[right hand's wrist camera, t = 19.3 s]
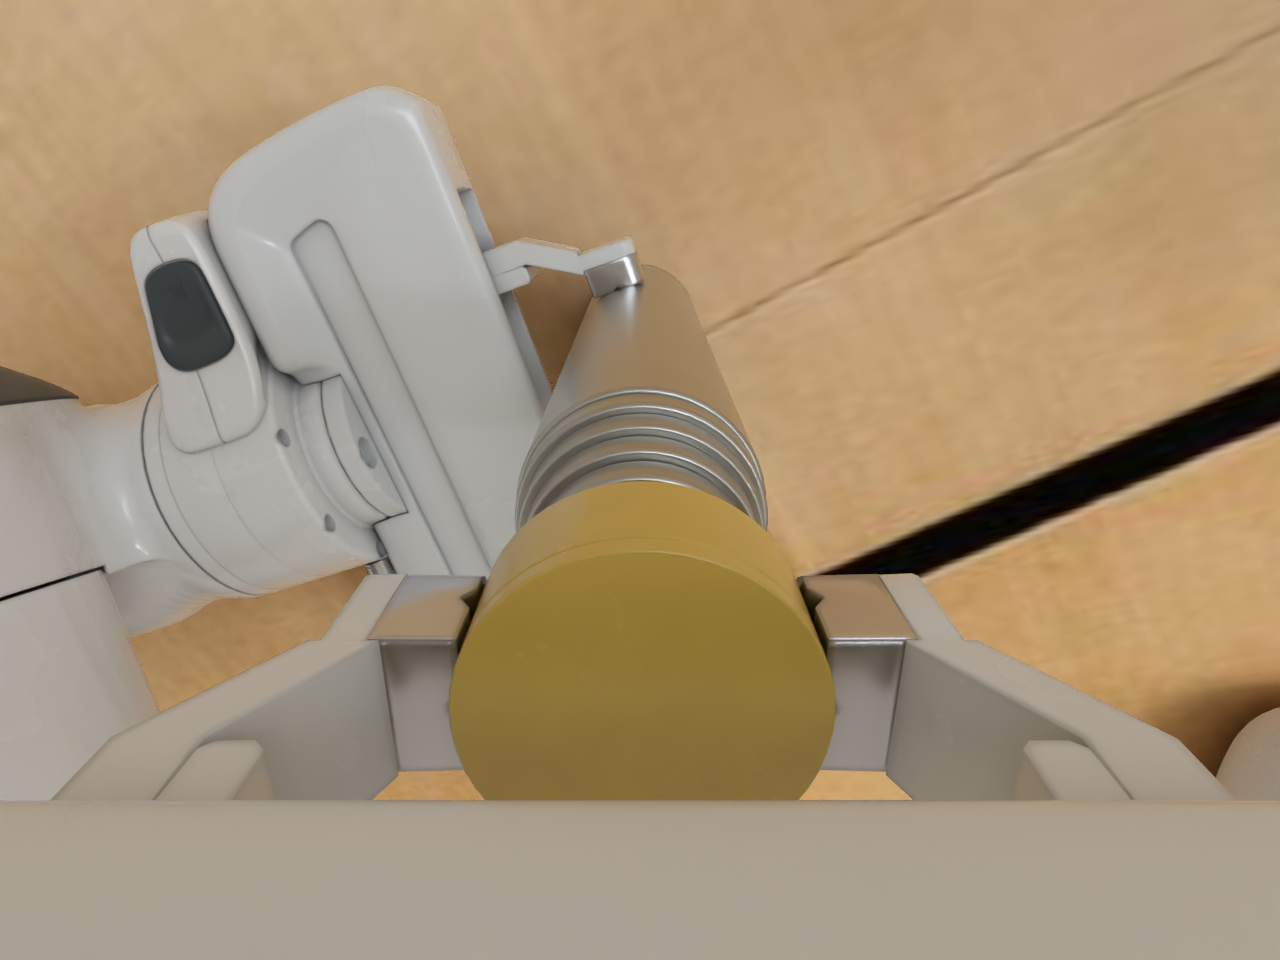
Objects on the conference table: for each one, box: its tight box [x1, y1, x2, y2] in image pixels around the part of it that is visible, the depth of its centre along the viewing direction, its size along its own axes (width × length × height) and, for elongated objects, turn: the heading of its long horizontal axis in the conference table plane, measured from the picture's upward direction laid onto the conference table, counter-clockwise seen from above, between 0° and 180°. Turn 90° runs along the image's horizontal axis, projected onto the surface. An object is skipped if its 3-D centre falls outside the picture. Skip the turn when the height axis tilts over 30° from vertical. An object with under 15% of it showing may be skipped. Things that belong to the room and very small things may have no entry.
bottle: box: [515, 265, 768, 532], centre depth 20 cm, size 4×4×25 cm
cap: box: [448, 481, 836, 800], centre depth 9 cm, size 4×4×2 cm
